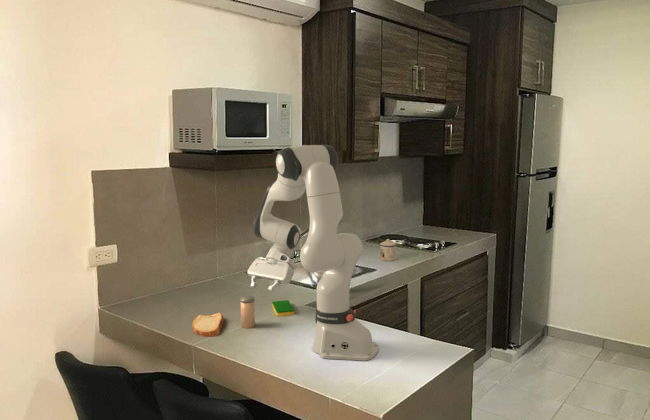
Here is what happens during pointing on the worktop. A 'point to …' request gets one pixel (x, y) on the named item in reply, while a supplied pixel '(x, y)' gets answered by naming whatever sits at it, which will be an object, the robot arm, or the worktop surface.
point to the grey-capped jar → (247, 312)
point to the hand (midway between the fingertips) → (261, 289)
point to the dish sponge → (282, 308)
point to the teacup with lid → (387, 250)
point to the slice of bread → (208, 325)
